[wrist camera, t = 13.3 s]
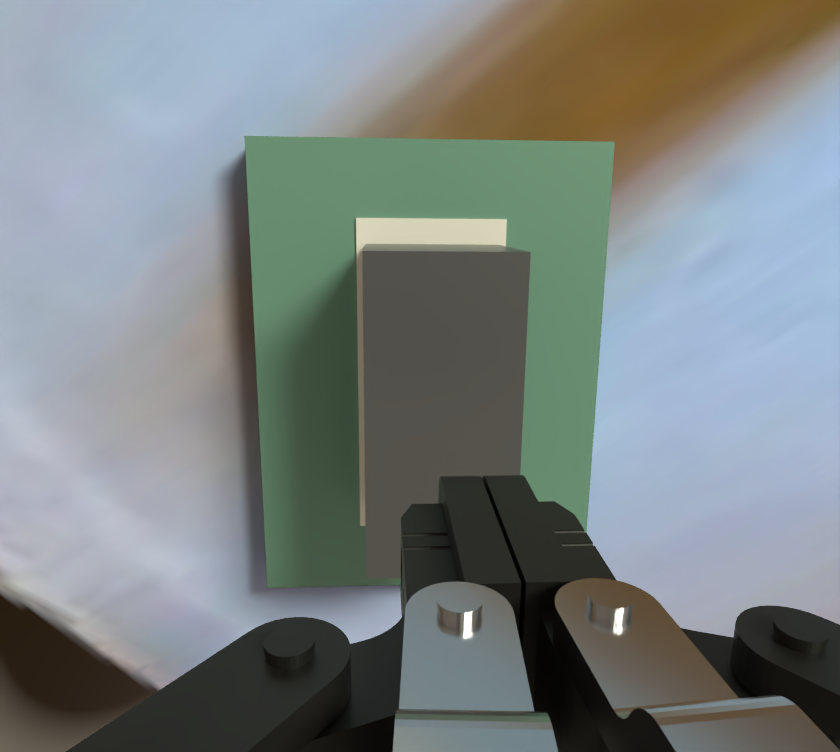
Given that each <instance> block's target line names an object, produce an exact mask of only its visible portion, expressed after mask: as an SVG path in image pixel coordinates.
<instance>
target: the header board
mask: <svg viewBox="0 0 840 752" xmlns="http://www.w3.org/2000/svg"><path fill="white" fill-rule="evenodd" d="M614 145H615V142H588V141H525V140H462V139H398V138H335V137H272V136H245V153H246V173H247V193H248V213H249V233H250V253H251V273H252V293H253V313H254V333H255V353H256V373H257V393H258V413H259V433H260V453H261V473H262V493H263V513H264V533H265V553H266V573H267V588H285V587H328V586H371V585H401V578H391V579H366V534H365V442H364V351H363V259H362V251H363V249H364V247H365V245H366V244H476V245H502V246H506V247H511V248H515V249H520V250H524V251H528V252H531V258H530V279H529V301H528V322H527V343H526V364H525V386H524V407H523V428H522V449H521V471H520V475H524V476H525V478H526V480H527V481H528V483H529V485H530V487H531V489H532V491H533V493H534V494H535V496H536V498H537V500H538V502H542V501H555V502H556V503H558V504H560V505H561V506H563V507H564V508H566V509H567V510H569V511H570V512H572V513H573V514H575V516H576V517H577V519H578V520H579V522H580V524H581V525H582V527H583V528H584V532H585V533H586V529H587V516H588V502H589V488H590V474H591V461H592V447H593V433H594V420H595V406H596V392H597V378H598V365H599V351H600V337H601V323H602V310H603V296H604V282H605V268H606V255H607V241H608V227H609V213H610V200H611V186H612V172H613V158H614Z"/></svg>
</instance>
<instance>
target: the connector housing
mask: <svg viewBox="0 0 840 752" xmlns="http://www.w3.org/2000/svg"><path fill="white" fill-rule="evenodd" d="M530 258H531V252H528V251H524V250H520V249H515V248H511V247H506V246H502V245H476V244H366V245H365V247H364V249H363V251H362V259H363V351H364V442H365V534H366V579H391V578H401V517H402V516H403V514H404V513H405V512H406V511H407V509H408V508H409V507H410V506H411V504H435V503H438V492H439V479H440V477H441V476H481V478H482V477H483V476H498V475H520V471H521V449H522V428H523V407H524V386H525V364H526V343H527V322H528V301H529V279H530Z"/></svg>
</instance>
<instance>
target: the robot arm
mask: <svg viewBox="0 0 840 752" xmlns="http://www.w3.org/2000/svg"><path fill="white" fill-rule="evenodd" d="M401 610H402V618H401V619H400V621H399V622H398V623H397V624H396V625H395V626H393V627H392V628H391V629H389V630H388V631H386V632H384V633H383V634H381V635H378V636H376V637H374V638H371V639H368V640H364V641H361V642H357V643H353V644H350V643H349V641H348V638H347V637H346V635H345V634H344V633H343V632H342V631H341V630H340V629H339V628H338V627H336V626H334V625H333V624H331V623H328V622H326V621H323V620H319V619H315V618H306V617H293V618H284V619H279V620H275V621H272V622H268V623H265V624H263V625H261V626H258V627H256V628H255V629H253V630H251V631H249V632H248V633H246V634H245V635H243V636H242V637H240V638H239V639H237V640H236V641H234V642H233V643H231V644H230V645H228V646H226V647H225V648H223V649H222V650H220V651H219V652H217V653H216V654H214V655H213V656H211V657H210V658H208V659H207V660H205V661H204V662H202V663H201V664H199V665H197V666H196V667H194V668H193V669H191V670H190V671H188V672H187V673H185V674H184V675H182V676H181V677H179V678H178V679H176V680H175V681H173V682H172V683H170V684H169V685H167V686H165V687H164V688H162V689H161V690H159V691H158V692H156V693H155V694H153V695H152V696H150V697H149V698H147V699H146V700H144V701H143V702H141V703H140V704H138V705H137V706H135V707H133V708H132V709H130V710H129V711H127V712H126V713H124V714H123V715H121V716H120V717H118V718H117V719H115V720H114V721H112V722H111V723H109V724H108V725H106V726H104V727H103V728H101V729H100V730H98V731H97V732H96V733H94V734H92V735H91V736H89V737H88V738H86V739H85V740H83V741H82V742H80V743H79V744H77V745H75V746H74V747H72V748H71V749H69V750H68V751H66V752H840V625H839V624H836V623H834V622H831V621H829V620H827V619H824V618H822V617H819V616H817V615H814V614H811V613H808V612H805V611H801V610H798V609H793V608H788V607H781V606H758V607H753V608H750V609H747V610H745V611H743V612H742V613H741V614H740V615H739V616H738V617H737V620H736V624H735V631H734V638H732V637H726V636H721V635H715V634H709V633H703V632H697V631H692V630H687V629H682V628H680V627H679V626H678V625H677V624H676V622H675V621H674V620H673V619H672V618H671V616H670V615H669V614H668V613H667V612H666V610H665V609H664V608H663V607H662V606H661V604H660V603H659V602H658V601H657V600H656V599H655V598H654V597H652V596H651V595H650V594H648V593H647V592H645V591H643V590H641V589H639V588H637V587H635V586H633V585H630V584H627V583H624V582H620V581H617V580H616V579H615V577H614V576H613V574H612V572H611V571H610V569H609V568H608V566H607V565H606V563H605V561H604V560H603V558H602V557H601V555H600V554H599V552H598V550H597V549H596V547H595V546H593V543H592V541H591V539H590V538H589V536H588V535H587V533H585V532H584V528H583V527H582V525H581V524H580V522H579V520H578V519H577V517H576V516H575V514H573V513H572V512H570V511H569V510H567V509H566V508H564V507H563V506H561V505H560V504H558V503H556V502H555V501H542V502H538V500H537V498H536V496H535V494H534V493H533V491H532V489H531V487H530V485H529V483H528V481H527V480H526V478H525V476H524V475H498V476H483V477H482V478H481V476H441V477H440V479H439V492H438V503H435V504H411V506H410V507H409V508H408V509H407V511H406V512H405V513H404V514H403V516H402V517H401Z"/></svg>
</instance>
